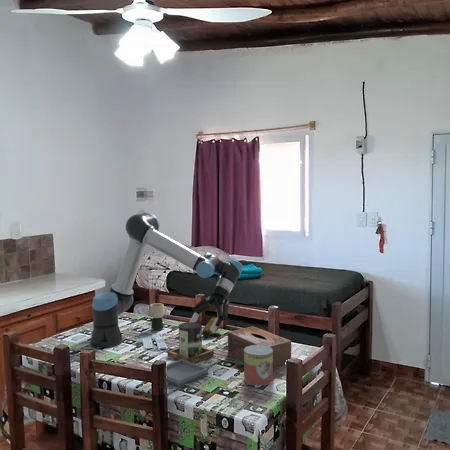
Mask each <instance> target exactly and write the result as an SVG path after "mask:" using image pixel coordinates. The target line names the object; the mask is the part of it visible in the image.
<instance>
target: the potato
mask: <svg viewBox="0 0 450 450" xmlns="http://www.w3.org/2000/svg"><path fill="white" fill-rule="evenodd" d="M216 318H218V316H217V317H212V318H211V319H210V320H208V322H207V323H206V325H205V326H204V328H202V337H205V338H207V337H211V335H214V334H215V333H216V332H217V331H218V330H219V329H221V327H222V324H223V321H222V322H221V323H220V325H219V327H217V329H216V331H215V333H212V332H211V331H210V328H211V327H212V325H213V323H214V321H215V319H216Z"/></svg>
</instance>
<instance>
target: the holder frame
mask: <svg viewBox="0 0 450 450" xmlns="http://www.w3.org/2000/svg"><path fill="white" fill-rule="evenodd" d="M166 355H167V358H169V359H172V360H174V361H178V360H180V359H183V360H186V361H189V362H192V363H194V364H198V363H199V362H202V361H204V360H206V359H209V358H212V357H214V356H215V352H214V349H211V348H208V347H204V346H202V354H199V355H196V356H194V357H191V358H189V357H186V356H183V355H180V354H179V347H176V348H173V349H171V350H168V351H167V354H166Z"/></svg>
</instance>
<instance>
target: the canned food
mask: <svg viewBox="0 0 450 450" xmlns="http://www.w3.org/2000/svg"><path fill="white" fill-rule="evenodd" d="M243 375H244V376H243V382H245V383H246V384H248V385H250V386H257V387H261V386H262V385H264V386H268V385H270V384H272V383H273V382H274V377H273V376H274V369H273V349H272V348H271V347H269V346H265V345H250V346H247V347H245V348H244V361H243ZM272 381H273V382H272ZM271 382H272V383H271ZM267 384H268V385H267ZM262 387H263V386H262Z"/></svg>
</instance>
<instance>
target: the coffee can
mask: <svg viewBox="0 0 450 450" xmlns="http://www.w3.org/2000/svg"><path fill="white" fill-rule="evenodd" d="M177 326H178V348H179V354H180V355H183V356H186V357H189V358H191V357H194V356H196V355H199V354H202V347H203V328H202V326H203V325H202V323H200V322H197V321H196V322H190V321H187V322H183V323H180V324H178V325H177Z"/></svg>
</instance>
